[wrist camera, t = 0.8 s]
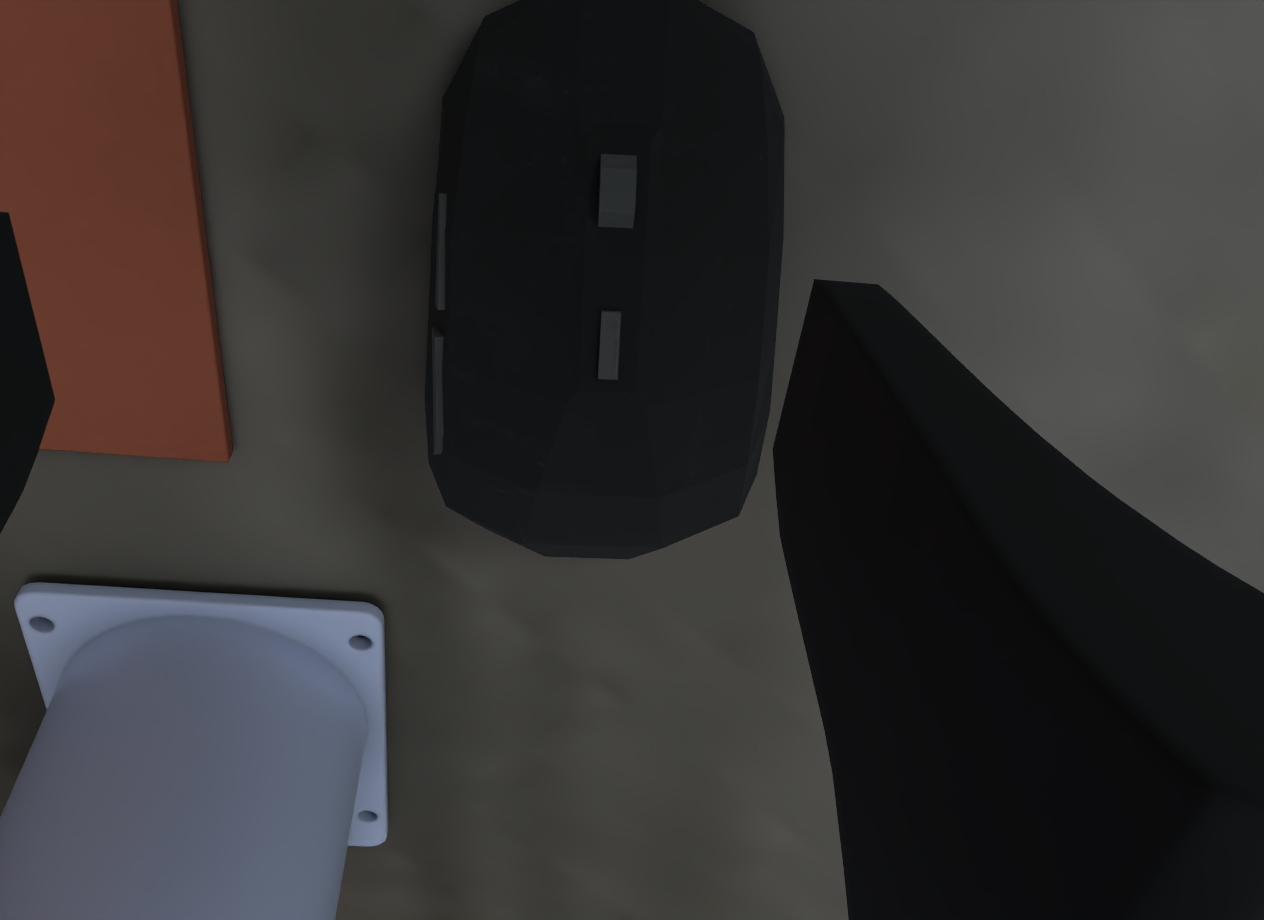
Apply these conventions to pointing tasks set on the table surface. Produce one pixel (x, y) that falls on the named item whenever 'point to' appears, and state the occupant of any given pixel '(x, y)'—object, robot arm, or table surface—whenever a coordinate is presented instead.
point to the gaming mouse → (604, 275)
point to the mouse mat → (112, 226)
